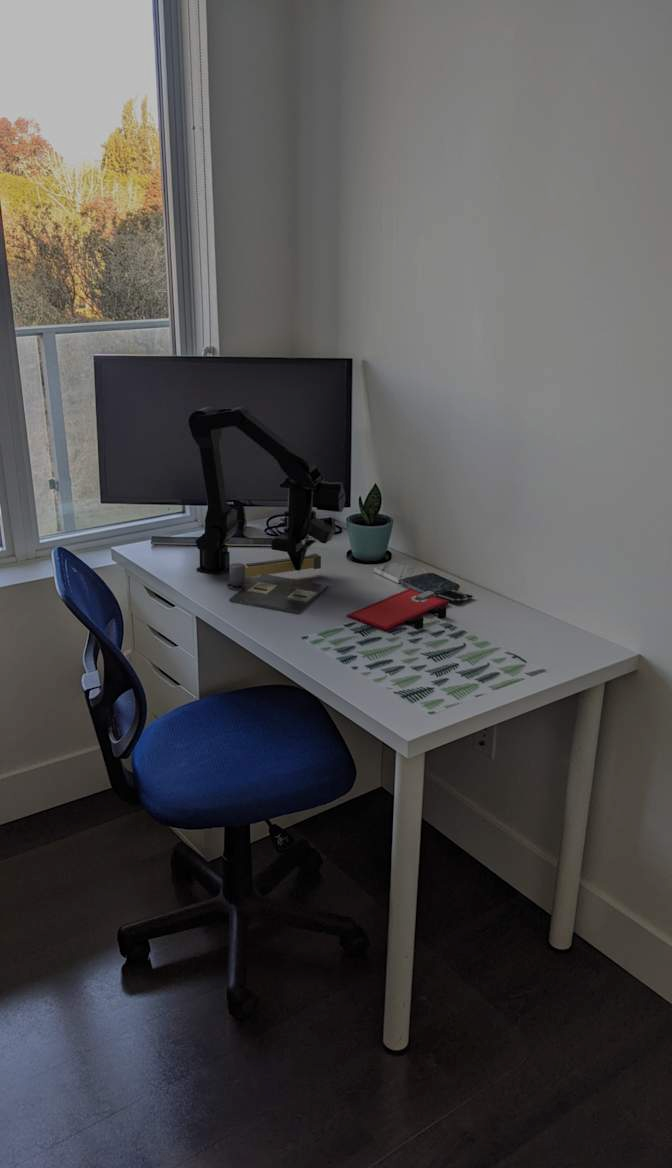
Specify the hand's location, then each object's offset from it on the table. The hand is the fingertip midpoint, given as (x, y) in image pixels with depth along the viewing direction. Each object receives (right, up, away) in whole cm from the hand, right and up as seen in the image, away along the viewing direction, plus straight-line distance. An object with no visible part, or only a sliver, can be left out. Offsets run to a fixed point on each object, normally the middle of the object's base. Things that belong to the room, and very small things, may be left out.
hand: (297, 570), depth 218 cm
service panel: (-6, -5, -6) cm, 10 cm away
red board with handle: (+27, -10, -12) cm, 31 cm away
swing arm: (-5, -2, +1) cm, 6 cm away
